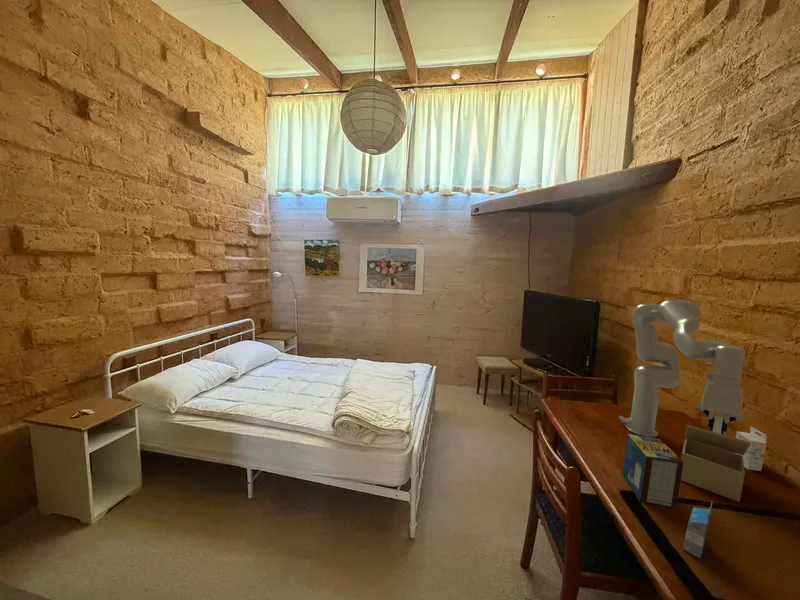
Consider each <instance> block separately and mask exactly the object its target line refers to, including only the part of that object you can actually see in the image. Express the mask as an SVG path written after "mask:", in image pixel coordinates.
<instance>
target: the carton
mask: <svg viewBox="0 0 800 600" xmlns="http://www.w3.org/2000/svg"><path fill="white" fill-rule="evenodd" d="M680 459H681V460H682V461H683V462H684V464H683V470H682V477H681V481H682V482H685V483H688V484H691V485H693V486H695V487H698V488H701V489H704V490H706V491H709V492H712V493H714V494H717V495H720V496H722V497H725V498H727V499H731V500H734V501H737V502H739V503H740V502H741V497H742V491H743V486H744V482H745V481H744V480H745V475H746V471H745V467H744V463H743V456H742V455H738V454H735V453H733V452H730V451H727V450H724V449H720V448H717V447H714V446H710V445H707V444H704V443H700V442H697V441H694V440H691V439H687V438H685V437H684V443H683V447H682V452H681V458H680Z"/></svg>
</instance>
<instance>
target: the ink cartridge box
mask: <svg viewBox="0 0 800 600" xmlns="http://www.w3.org/2000/svg"><path fill="white" fill-rule="evenodd" d="M749 431H750V432H744V431H737V430H736V435H735V438H736V439H740V440H743V441H747V442H750V446H749V447H748V449H747V451H746V452H745V454H744V455H742V456H743V463H744V469H746V470H751V471H758V472H762V469H763V464H764V458H765V455H766V448H767V439H768V438H767V436H768V435H766V433H764V432H762V431H760V430H758V429H757V428H755V427H753V426H750V429H749ZM757 433H758V434H757ZM732 453H734V452H732ZM735 454H737V453H735ZM738 455H740V454H738Z"/></svg>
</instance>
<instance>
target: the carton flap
mask: <svg viewBox="0 0 800 600" xmlns="http://www.w3.org/2000/svg"><path fill="white" fill-rule="evenodd" d="M714 419H715V420H714V427H713V431H710V430H707V429H703V428H701V427H696V426H693V425H690V424H685V428H684V432H685V433H684V439H685V438H686V439H689V440H692V441H695V442H699V443H702V444H705V445H709V446H712V447H715V448H719V449H722V450H725V451H728V452H732V453H733V452H734V453H737V454H740V455H744V454H745V452H746V451H747V449H748V447H749V446H750V442H747V441H743V440H740V439H736V437H733V436H730V435H729V436H728V435H726V434H721V429H722V422H723V419H724V416H719V415H715V416H714Z"/></svg>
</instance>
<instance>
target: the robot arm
mask: <svg viewBox="0 0 800 600" xmlns="http://www.w3.org/2000/svg"><path fill="white" fill-rule="evenodd" d="M631 314H632V315H631V322H632V325H633V329H634V331H635V332H634V333H635V345H636V346H635V348H636V356H637V358H638V360H640V361H641V362H644V363H653V364H654V363H655V364H660V365H651V364H650V365H649V364H642V365H638V366H637V367H636V368H635V369H634V372H633V376H634V377H633V378H634V379H633V380H634V386H633V387H634V389H633V396H632V397H633V398H632V404H631V413H630V417H624V416H621V415H619V417H618V420H619V421H620V422H621V423H625V425H624V426H625V427H626V428H627V429H628V430H629V431H628V430H627V429H626V428H625V429H626V430H627V431H628V432H630V431H631V432H630V433H632V432H633V433H632V434H634V433H636V434H635V435H637V434H638V435H637V436H639V435H641V436H642V437H643V436H644V437H649V438H655V439H656V438H657V437H658V436H659V433H658V431H657V430H655V428H656V421H657V415H658V407H659V401H660V400H659V399H660V398H659V394H658V392H657V390H656V388H661V389H663V388H664V389H665V388H666V389H674V388H677V387H679V385H680V382H681V381H680V380H681V370H680V359H679V354H678V350H679V351H680V353H682V354H683V355H684V357H686V358H688V359H691V360H696V361H705V362H706V361H709V362H712V367H711V373H705V378H707V379H709V380H707V382H706V384H705V386H704V390H703V392H702V393H703V394H702V398H701V401H700V402H699V403H697V405H696V409H697V410H699V411H701V412H702V413H704V415H706V417H708V424H707V427H708V428H709V431H711V432H713V427H714V420H715V419H714V418H715V416H714V413H717V414H720V415H724V417H723V422H722V429H721V434H722V435H724V432H726V433H727V429H728V425H729V424H730V423H732V422H734V421H744V420H745V416H744V414H743V412H742V411H743V410H742V408H743V402H744V401H743V400H744V399H743V398H744V392H743V388H742V387H741V381H742V375H743V370H744V363H745V357H746V350H745V349H744V348H742V347H740V346H734V345H731V344H729V343H727V342H725V341H719V340H709V339H696V338H694V337H692V335H693V334H694V333H695V332H697V330H699V328H700V325H701V324H700V321H699V318H700V316H701V309H700V307H699V305H698V304H697V303H695V302H693V301H690V300H688V301H687V300H677V299H668V300H665V301H663V302H661V303H659V304H658V303H640V304H638V305H636V306H635V307H634V308H633V310H632V313H631ZM652 323H660V324H668V325H669V326H670V327H671V328H672V329H673V334H672V336H673V337H672V339H673V343H674V345H675V346H674V345H672V344H671V343H667V342H665V343H664V342H660V341H659V334H658V331H657V329H656V328H655V326H654V325H653V324H652ZM676 348H677V349H678V350H677V349H676Z"/></svg>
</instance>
